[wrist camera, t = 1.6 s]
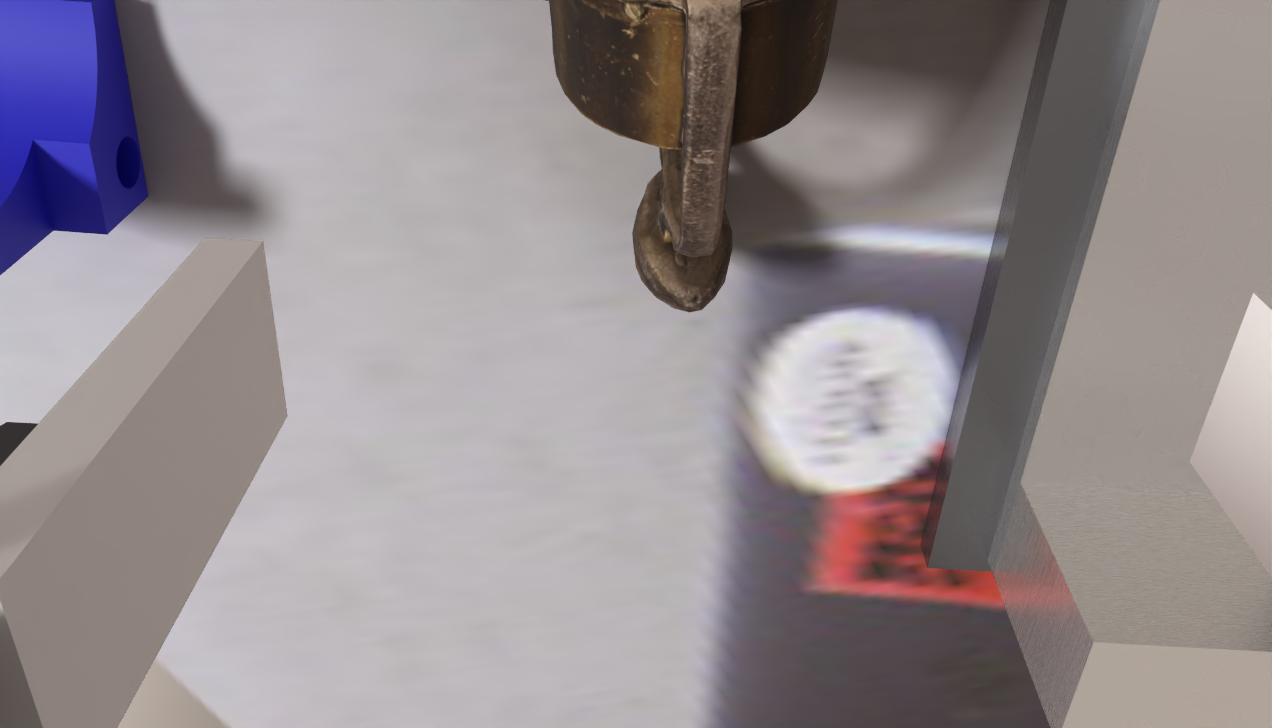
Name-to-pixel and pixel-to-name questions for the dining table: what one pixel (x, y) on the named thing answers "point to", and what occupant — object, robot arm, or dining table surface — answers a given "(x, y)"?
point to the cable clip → (64, 123)
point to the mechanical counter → (689, 109)
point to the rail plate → (1121, 368)
